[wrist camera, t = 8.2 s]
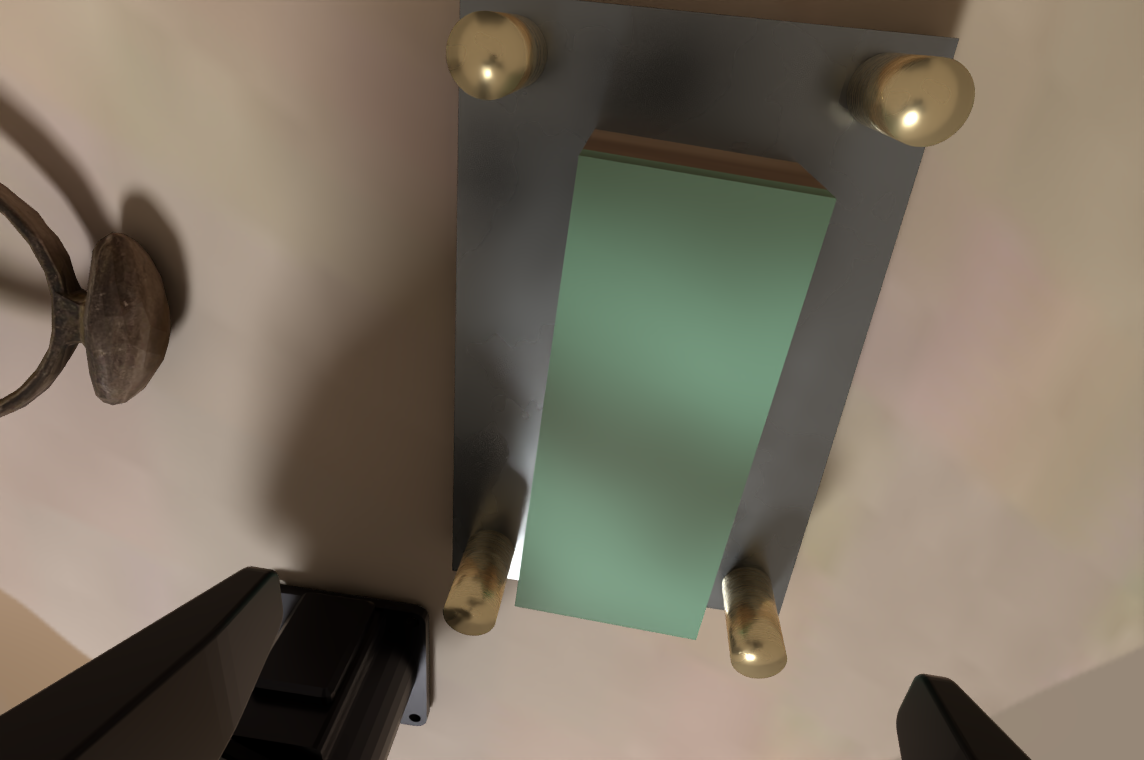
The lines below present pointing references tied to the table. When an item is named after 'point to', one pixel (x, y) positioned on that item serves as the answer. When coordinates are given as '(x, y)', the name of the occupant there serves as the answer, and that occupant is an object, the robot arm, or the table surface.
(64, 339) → the bronze antique clock
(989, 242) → the table surface
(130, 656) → the robot arm
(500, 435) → the plate
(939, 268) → the table surface
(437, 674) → the table surface
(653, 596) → the board block
